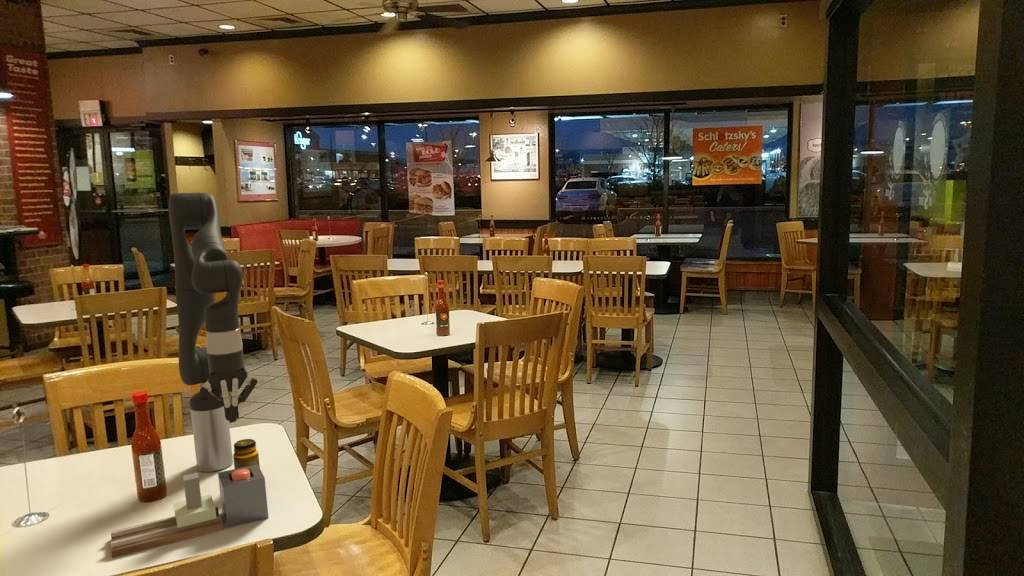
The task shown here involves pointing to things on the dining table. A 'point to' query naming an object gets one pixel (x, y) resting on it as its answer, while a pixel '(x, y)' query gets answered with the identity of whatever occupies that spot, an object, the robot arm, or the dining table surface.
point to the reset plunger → (240, 474)
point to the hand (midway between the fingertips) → (232, 421)
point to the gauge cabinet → (243, 497)
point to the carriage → (194, 504)
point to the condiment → (245, 453)
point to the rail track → (158, 534)
